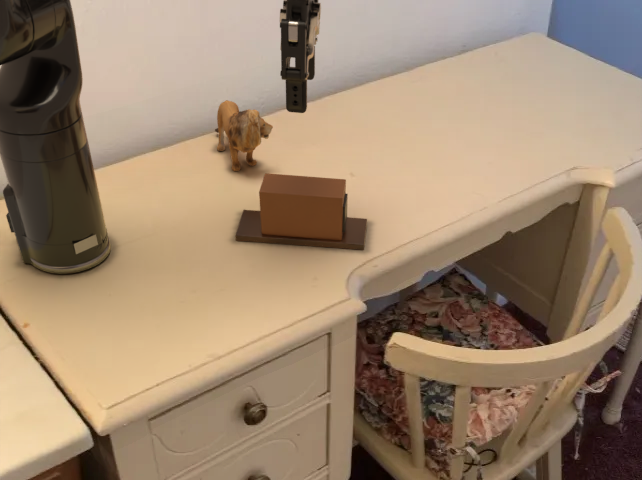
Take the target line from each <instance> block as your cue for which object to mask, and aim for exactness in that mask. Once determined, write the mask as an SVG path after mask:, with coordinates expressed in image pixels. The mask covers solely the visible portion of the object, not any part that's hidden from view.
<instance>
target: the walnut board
mask: <svg viewBox="0 0 642 480" xmlns="http://www.w3.org/2000/svg"><path fill="white" fill-rule="evenodd" d="M367 227H368V218H362V217H348V216H347V222H346V228H345V232H343V236H342V240H329V239H316V238H303V237H290V236H277V235H264V234H262V233H261V216H260V210H254V209H243V210H242V213H241V217H240V220H239V223H238V226H237V229H236V232H235V234H234V238H235V241H238V242H252V243H265V244H266V243H267V244H281V245H292V246H293V245H294V246H306V247H319V248H320V247H321V248H332V249H333V248H335V249H346V250H362V251H364V250H365V244H366V236H367V235H366V234H367Z"/></svg>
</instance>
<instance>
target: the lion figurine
mask: <svg viewBox="0 0 642 480" xmlns="http://www.w3.org/2000/svg"><path fill="white" fill-rule="evenodd" d="M216 122H217V128H214V132H216V134H218V142H217V146H216V150H217V152H223V151H225V150H226V146H225V135H226V138H227V140H228V144H229V152H230V157H231V170H232V171H233V172H239V171H241V163H240V160H239V151H240V153H243V154H246V156H245V162H246V163H247V165H249V166H250V167H254V166H256V165H257V164H258V161H257V160H256V159H254V158H253V156H254V155H253V154H254V151H255V150H256V148H257V147H258V146H260V145H261V144H262V138H263V139H265V140H268V139H269V137H270V134H271V133H272V131H273V128H274V126H273V125H272V124H270V123H268V122H267V121H266V120H265V119H264V118H263V117H261V116H260V111H258V110H257V109H250V108H248V109H245V110H242V111H241V110H240V109H239V105H238V104H237V103H236V102H234V101H232V100H228V99H227V100H224V101H222V102H221V103H220V104H219V106H218V109H217V116H216Z"/></svg>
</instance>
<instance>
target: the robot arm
mask: <svg viewBox="0 0 642 480" xmlns="http://www.w3.org/2000/svg"><path fill="white" fill-rule="evenodd" d="M321 13H322V2H319V0H283V1H282V8H280V10H279V29H280V54H281V55H280V66H281V67H280V69H281V70H280V73H279V74H280V75H279V76H280V77H281V80H282V81H283V80H284V81H285V109H286V111H287V112H288V113H296V114H304V113H306V112H307V108H308V81H312V80H313V79H314V78H315V75H316V45H317V42H318V39H319V37H318V35H320V29H321ZM292 58H293V59H294V66H291V59H292ZM83 80H84V79H83V68H82V62H81V55H80V50H79V43H78V36H77V29H76V22H75V15H74V11H73V7H72V3H71V0H0V160H1V163H2V167H3V170H4V174H5V177H6V181H7V183H6V185H5V187H4V188H3V190H2V195H3V200H4V202H5V203H4V204H5V205H6V209H7V213H6V214H5V216H6V220H7V223H8V227H9V230H10V233H14V235H15V239H16V244H17V246H18V249H19V252H20V256H21V259H22V262H23V263H24V264H30V265H32V266H34V267H35V268H36V269H38V270H40V271H43V272H46V273H51V274H60V275H62V274H65V275H66V274H74V273H79V272H84V271H88V270H90V269H91V268H94V267H96V266H97V265H99V264H101V263H102V262H103V261H105V260H106V259H107V257H108V256H109V255H110V253H111V241H110V237H109V233H108V230H107V229H108V228H107V227H106V222H105V215H104V211H103V206H102V202H101V197H100V191H99V187H98V182H97V177H96V173H95V168H94V163H93V158H92V154H91V149H90V145H89V139H88V135H87V130H86V125H85V121H84V115H83V111H82V105H81V94H82V89H83Z"/></svg>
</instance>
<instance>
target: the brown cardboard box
mask: <svg viewBox="0 0 642 480" xmlns="http://www.w3.org/2000/svg"><path fill="white" fill-rule="evenodd" d="M258 196H259V198H258V199H259V211H260V216H261V233H262V234H264V235H277V236H290V237H303V238H316V239H329V240H342V236H343V232H345V228H346V222H347V217H348V198H349V197H348V193H347V179H345V178H333V177H322V176H321V177H319V176H308V175H293V174H280V173H267V172H266V173H264V175H263V179H262V182H261V185H260V188H259V191H258Z"/></svg>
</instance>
